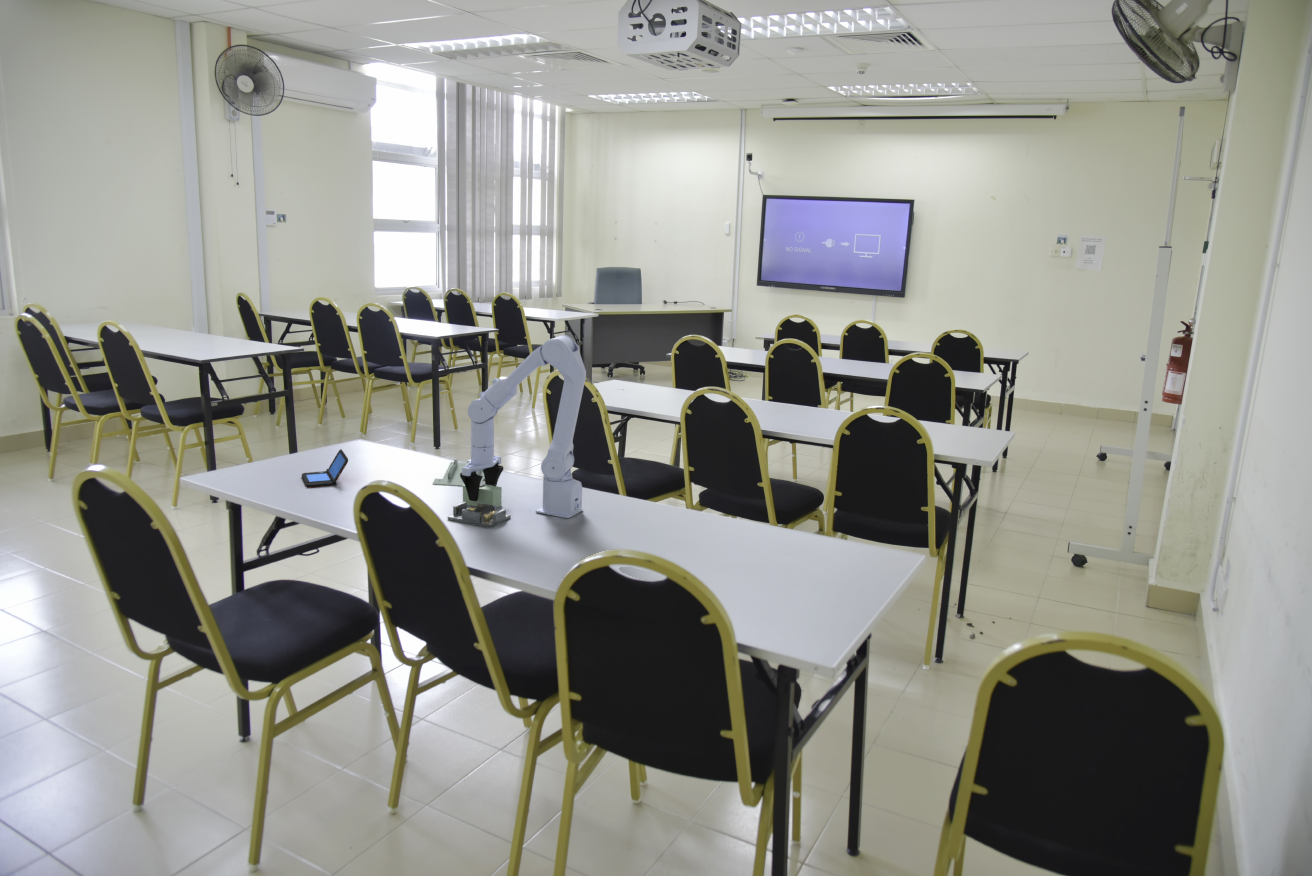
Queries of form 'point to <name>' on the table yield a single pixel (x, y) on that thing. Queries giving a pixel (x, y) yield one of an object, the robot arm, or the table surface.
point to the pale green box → (485, 495)
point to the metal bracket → (455, 475)
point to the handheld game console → (327, 473)
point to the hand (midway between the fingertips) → (481, 496)
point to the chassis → (478, 515)
